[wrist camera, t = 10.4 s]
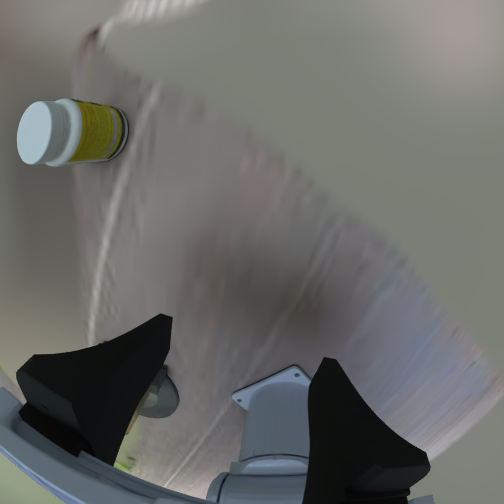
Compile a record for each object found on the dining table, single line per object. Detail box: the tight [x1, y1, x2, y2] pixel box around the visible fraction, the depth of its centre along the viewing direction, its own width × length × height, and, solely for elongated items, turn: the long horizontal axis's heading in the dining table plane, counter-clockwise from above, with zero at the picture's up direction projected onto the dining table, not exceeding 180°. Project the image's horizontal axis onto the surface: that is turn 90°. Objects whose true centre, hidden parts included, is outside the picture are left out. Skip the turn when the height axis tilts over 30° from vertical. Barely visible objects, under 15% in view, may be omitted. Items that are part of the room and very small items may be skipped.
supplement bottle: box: [17, 99, 128, 167], centre depth 15 cm, size 5×5×8 cm
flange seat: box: [98, 343, 179, 418], centre depth 26 cm, size 11×11×3 cm
